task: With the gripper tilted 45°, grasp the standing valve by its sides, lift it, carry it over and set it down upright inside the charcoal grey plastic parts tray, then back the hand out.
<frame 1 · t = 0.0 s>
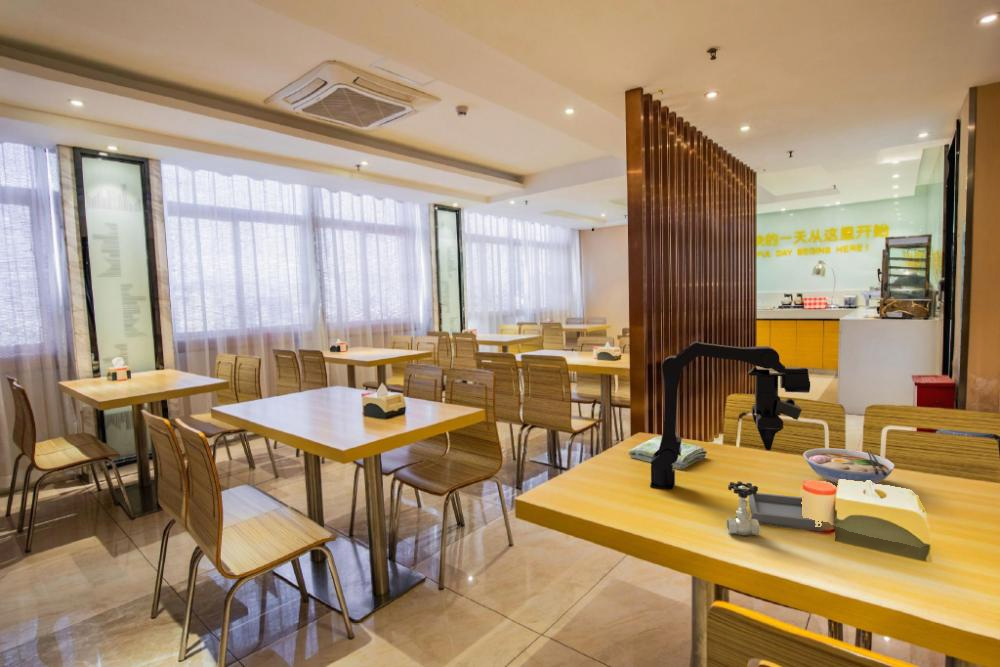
hand: (766, 445, 144), 15 cm above the table, tool pointing down, fingers open, 9 cm apart
ramen bowl: (846, 483, 153), on the table
parts tray: (782, 514, 133), on the table
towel: (667, 459, 182), on the table
valve: (742, 535, 123), on the table
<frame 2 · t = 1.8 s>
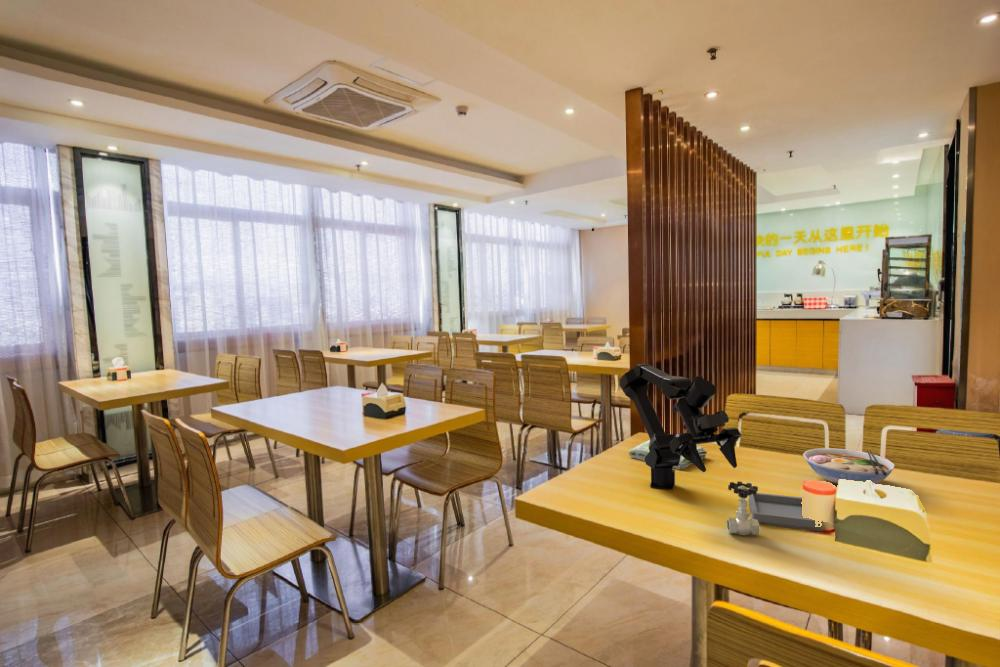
hand: (720, 469, 130), 13 cm above the table, tool tilted 45°, fingers open, 9 cm apart
nothing on the table moved.
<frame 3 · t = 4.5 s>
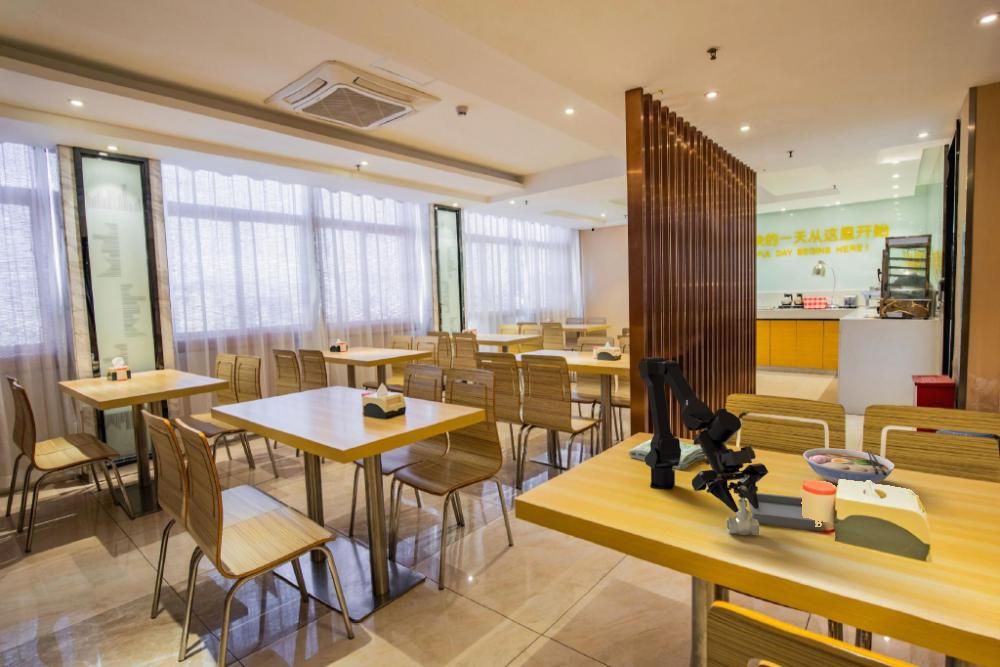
hand: (747, 510, 121), 7 cm above the table, tool tilted 45°, fingers closed on valve, 5 cm apart
valve: (742, 535, 123), on the table, touching gripper
everything else where it was.
when the fingers open (8 cm above the table, at t = 8.8 s): valve drops 1 cm, resting on parts tray.
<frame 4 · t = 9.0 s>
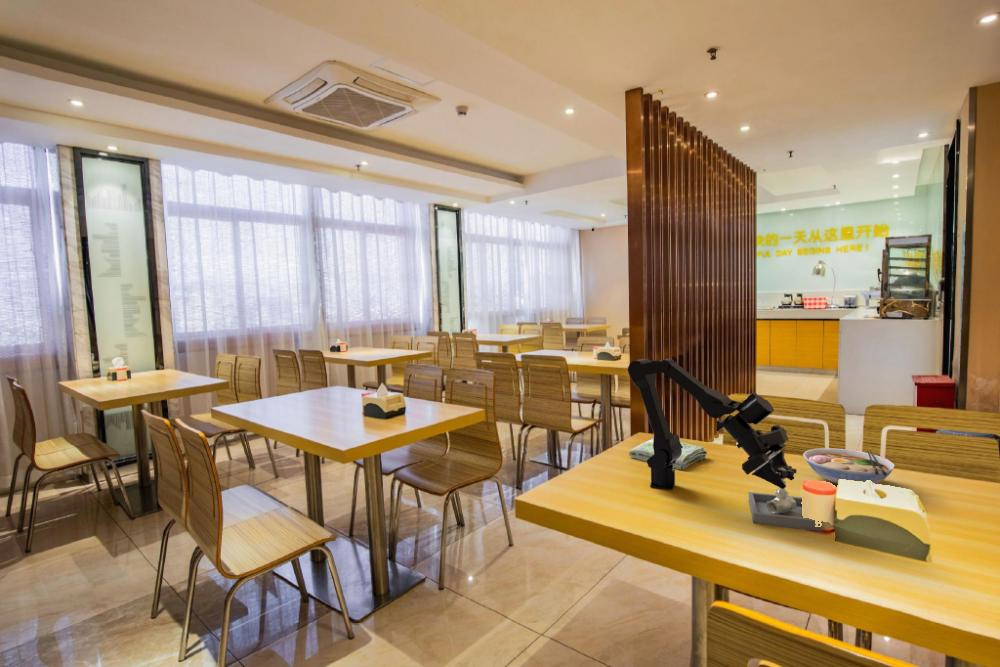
hand: (788, 483, 131), 9 cm above the table, tool tilted 45°, fingers open, 7 cm apart
valve: (781, 513, 133), resting on parts tray
everything else where it was.
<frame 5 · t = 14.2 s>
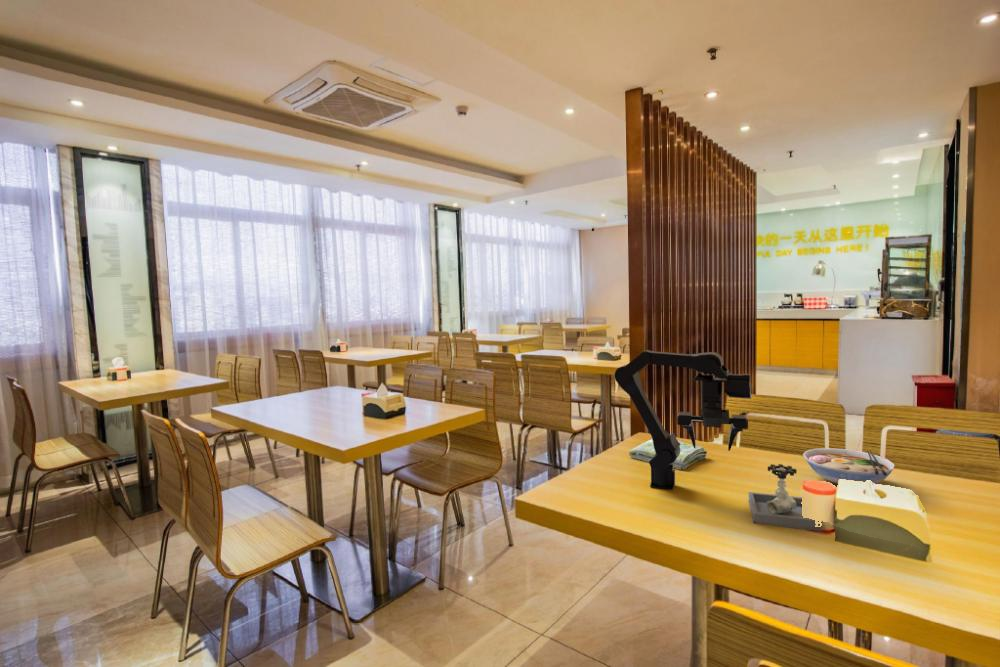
hand: (711, 449, 148), 13 cm above the table, tool pointing down, fingers open, 9 cm apart
nothing on the table moved.
at the end: valve inside the target area on the parts tray (0.4 cm from its centre), point 0.4 cm above the parts tray's base; valve tilted 0°; the gripper is holding nothing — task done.
